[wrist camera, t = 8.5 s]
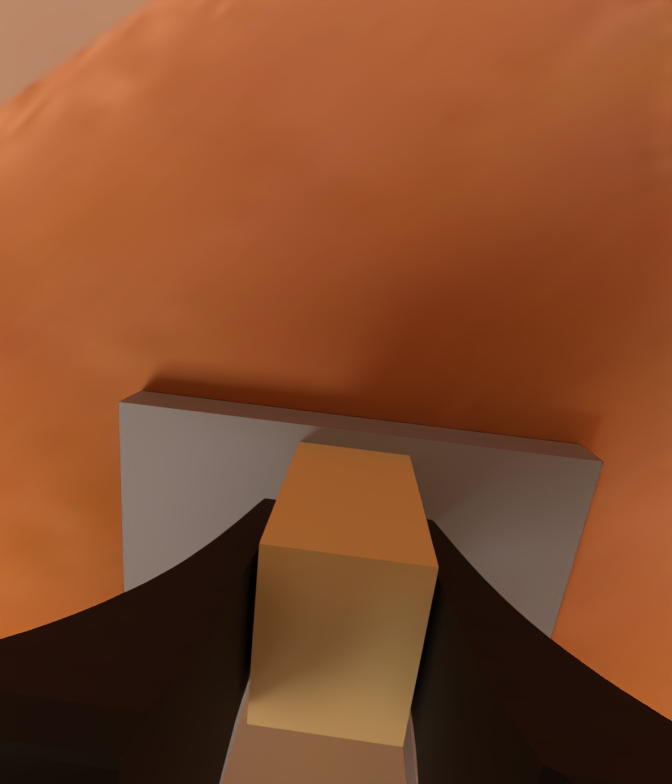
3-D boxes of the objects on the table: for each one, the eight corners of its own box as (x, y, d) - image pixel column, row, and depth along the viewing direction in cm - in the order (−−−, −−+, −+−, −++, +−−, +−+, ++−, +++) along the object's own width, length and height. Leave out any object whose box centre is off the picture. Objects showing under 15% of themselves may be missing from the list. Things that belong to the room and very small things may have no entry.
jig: (455, 894, 18) (479, 1050, 14) (147, 845, 18) (93, 985, 14) (580, 444, 12) (668, 512, 9) (140, 390, 13) (54, 434, 9)
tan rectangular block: (388, 580, 13) (402, 747, 8) (287, 567, 13) (246, 723, 8) (409, 455, 11) (439, 567, 7) (299, 441, 12) (258, 543, 7)
